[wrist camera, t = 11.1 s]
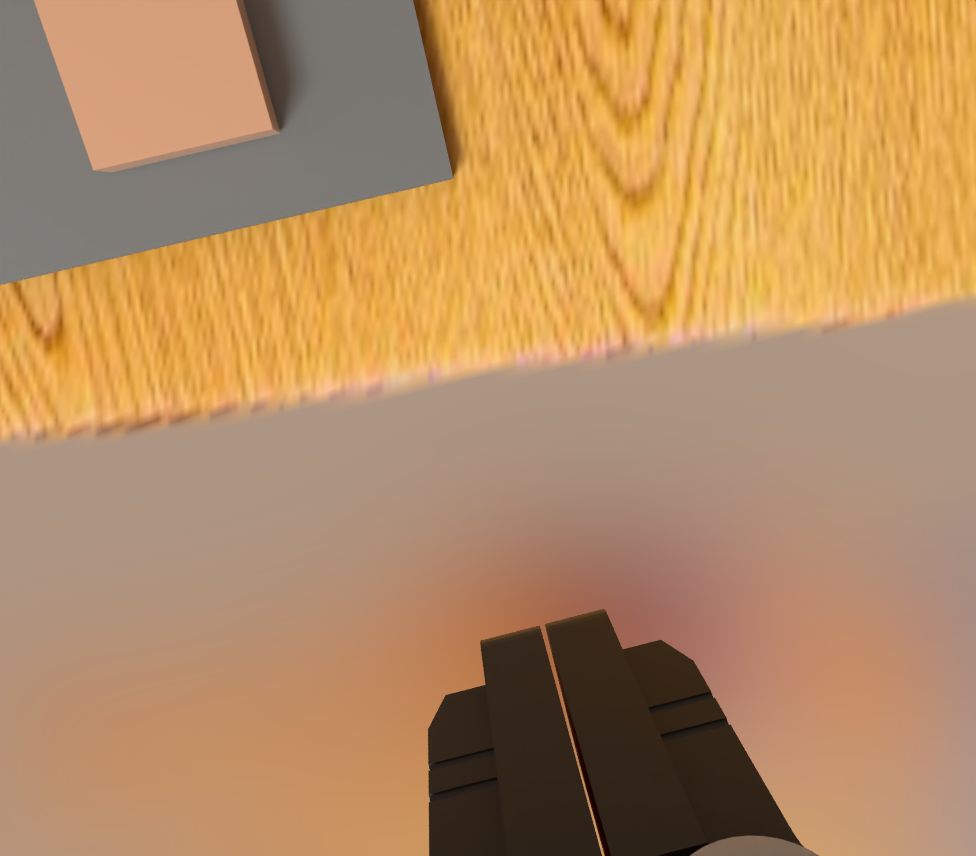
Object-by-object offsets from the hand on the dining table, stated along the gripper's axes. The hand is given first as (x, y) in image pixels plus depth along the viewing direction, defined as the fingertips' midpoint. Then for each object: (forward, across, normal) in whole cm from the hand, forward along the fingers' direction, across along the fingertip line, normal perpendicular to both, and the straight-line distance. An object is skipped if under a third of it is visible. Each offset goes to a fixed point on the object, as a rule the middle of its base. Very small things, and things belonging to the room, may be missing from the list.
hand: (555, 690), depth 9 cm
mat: (+28, +9, -13) cm, 33 cm away
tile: (+26, +9, -10) cm, 29 cm away
